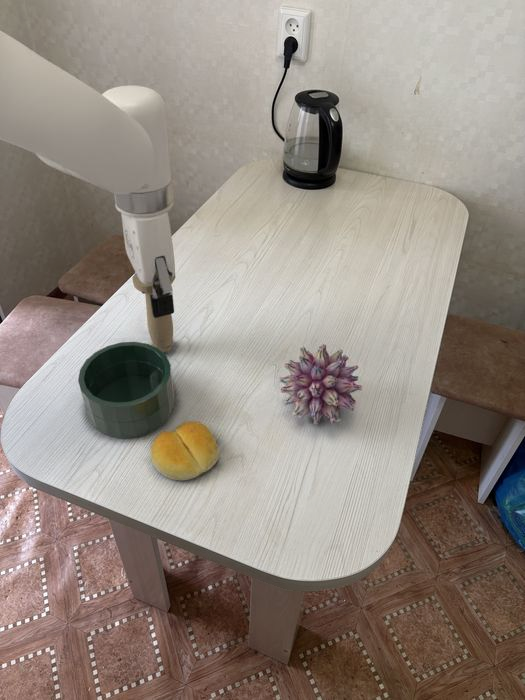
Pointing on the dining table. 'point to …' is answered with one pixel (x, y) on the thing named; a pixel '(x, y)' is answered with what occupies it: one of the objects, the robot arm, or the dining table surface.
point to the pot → (127, 389)
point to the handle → (158, 326)
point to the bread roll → (185, 451)
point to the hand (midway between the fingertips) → (157, 301)
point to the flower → (320, 384)
